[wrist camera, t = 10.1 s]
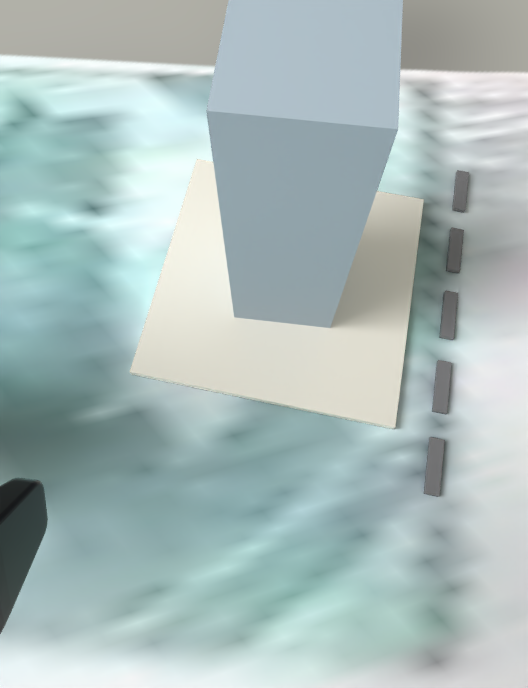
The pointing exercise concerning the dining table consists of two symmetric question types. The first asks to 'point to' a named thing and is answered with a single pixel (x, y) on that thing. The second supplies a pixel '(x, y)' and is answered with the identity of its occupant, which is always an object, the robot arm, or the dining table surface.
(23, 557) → the robot arm
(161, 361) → the coaster
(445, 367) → the perforation line
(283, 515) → the dining table surface
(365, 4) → the stub block
